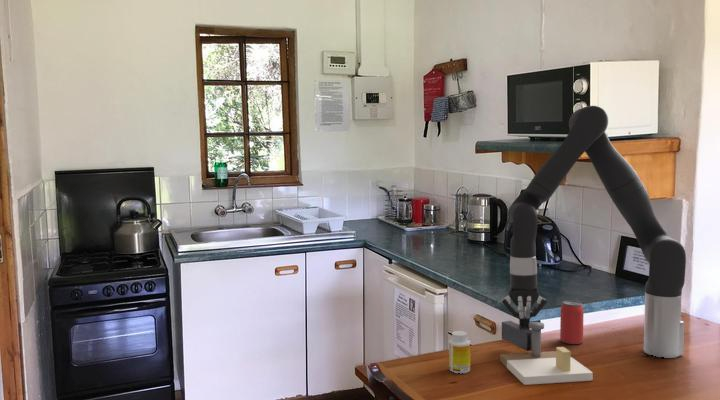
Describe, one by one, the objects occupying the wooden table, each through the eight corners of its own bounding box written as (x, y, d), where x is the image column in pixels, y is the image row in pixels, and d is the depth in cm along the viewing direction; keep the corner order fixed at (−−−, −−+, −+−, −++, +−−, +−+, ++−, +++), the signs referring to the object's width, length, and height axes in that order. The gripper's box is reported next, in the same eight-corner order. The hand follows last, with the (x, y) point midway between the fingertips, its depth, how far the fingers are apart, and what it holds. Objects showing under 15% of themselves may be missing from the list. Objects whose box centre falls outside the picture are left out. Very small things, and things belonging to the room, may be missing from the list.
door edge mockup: (562, 357, 172) (563, 319, 171) (592, 380, 155) (593, 337, 154) (500, 361, 169) (500, 322, 168) (524, 384, 153) (524, 341, 152)
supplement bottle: (474, 372, 162) (474, 334, 161) (457, 375, 159) (457, 337, 158) (462, 365, 167) (462, 328, 166) (445, 369, 164) (444, 331, 163)
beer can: (584, 345, 182) (585, 305, 181) (561, 344, 183) (562, 305, 182) (581, 338, 188) (582, 300, 187) (558, 337, 189) (559, 299, 188)
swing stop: (536, 349, 170) (536, 331, 169) (526, 351, 169) (527, 333, 168) (510, 337, 181) (510, 320, 180) (501, 338, 180) (501, 321, 179)
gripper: (545, 268, 179) (546, 327, 180) (499, 269, 181) (500, 326, 182) (549, 274, 171) (550, 334, 173) (500, 274, 174) (501, 334, 175)
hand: (524, 330), depth 177 cm, fingers closed
